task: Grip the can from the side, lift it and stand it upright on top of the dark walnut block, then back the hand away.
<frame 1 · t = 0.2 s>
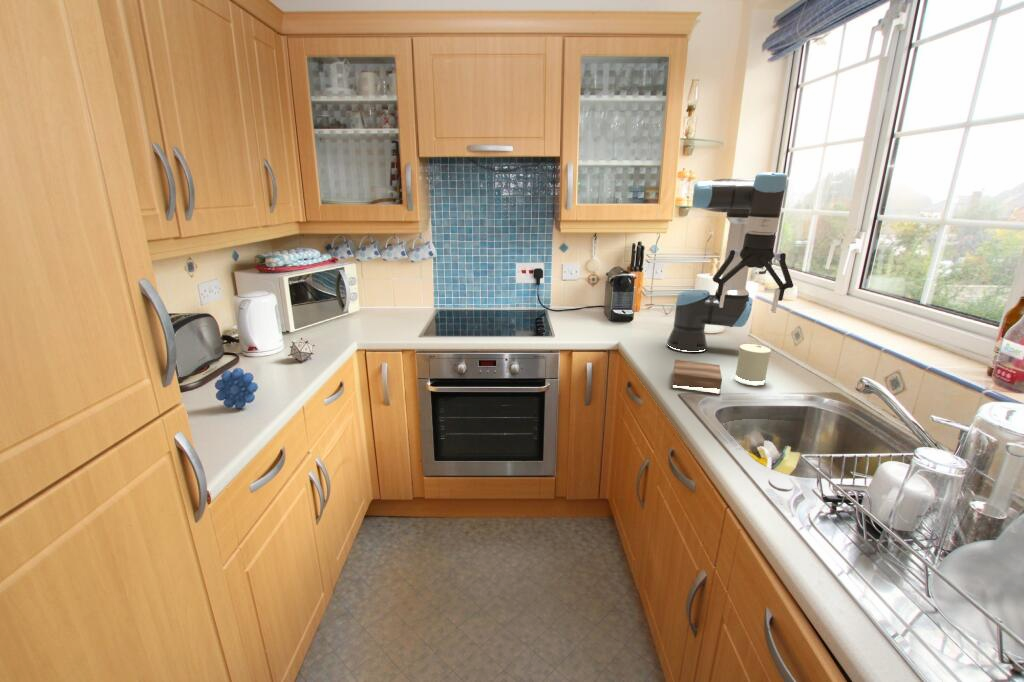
hand: (746, 309, 134), 28 cm above the worktop, tool pointing down, fingers open, 13 cm apart
walnut block: (695, 383, 153), on the worktop
blue knobbed ball: (241, 407, 131), on the worktop
grey spiked polyhedron: (303, 361, 169), on the worktop
can: (749, 381, 155), on the worktop
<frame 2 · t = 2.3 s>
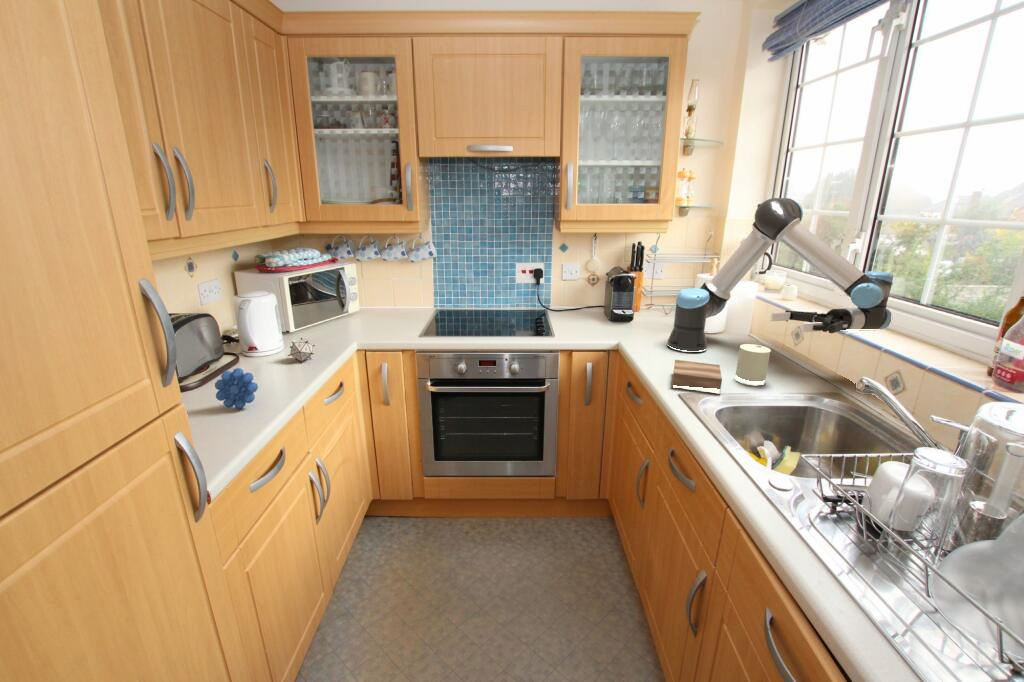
hand: (786, 322, 151), 20 cm above the worktop, tool horizontal, fingers open, 13 cm apart
nothing on the worktop moved.
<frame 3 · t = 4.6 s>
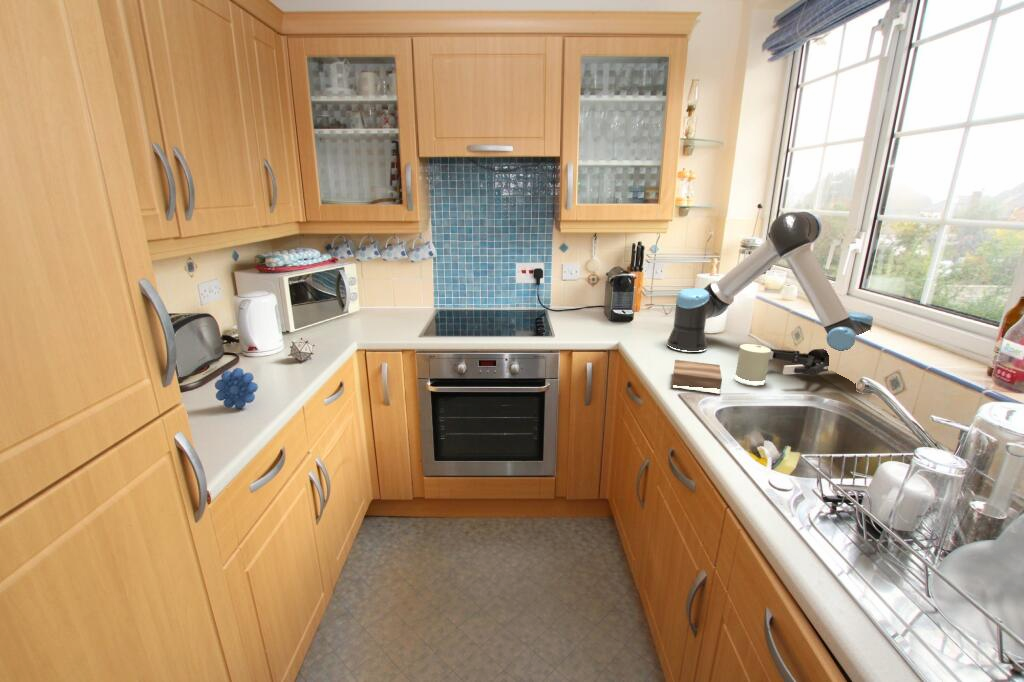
hand: (768, 362, 154), 6 cm above the worktop, tool horizontal, fingers open, 13 cm apart
nothing on the worktop moved.
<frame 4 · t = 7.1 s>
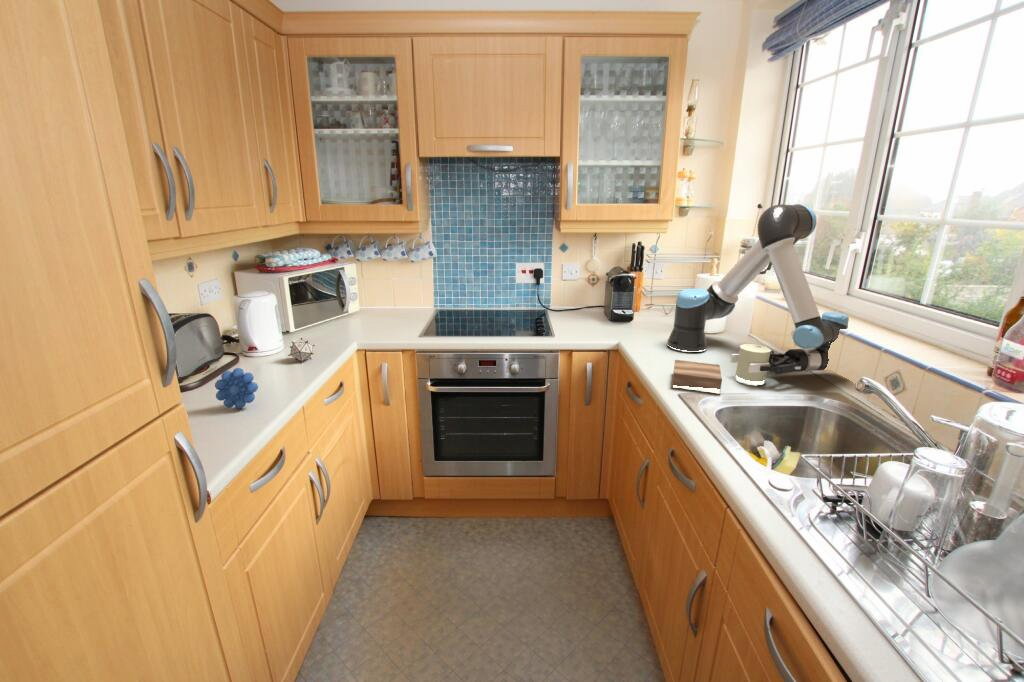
hand: (740, 363, 153), 7 cm above the worktop, tool horizontal, fingers closed on can, 9 cm apart
can: (749, 381, 155), on the worktop, touching gripper
everything else where it was.
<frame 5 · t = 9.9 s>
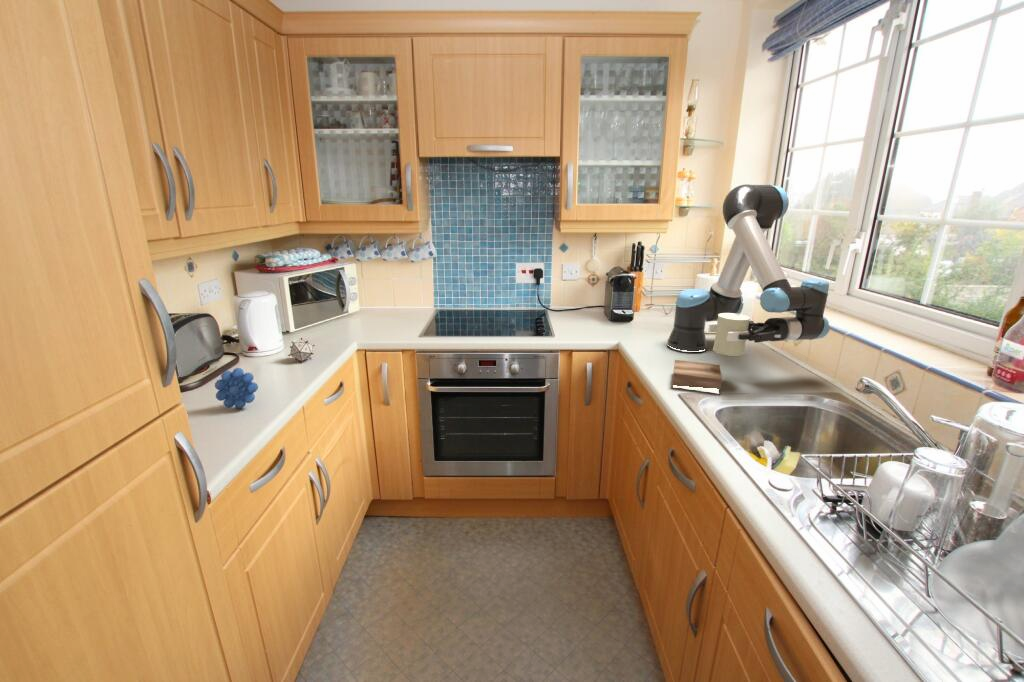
hand: (718, 332, 146), 18 cm above the worktop, tool horizontal, fingers closed on can, 9 cm apart
can: (728, 352, 149), point 11 cm above the worktop, touching gripper
everything else where it was.
when the fingers open (13 cm above the worktop, at t = 12.6 s): can drops 1 cm, resting on walnut block.
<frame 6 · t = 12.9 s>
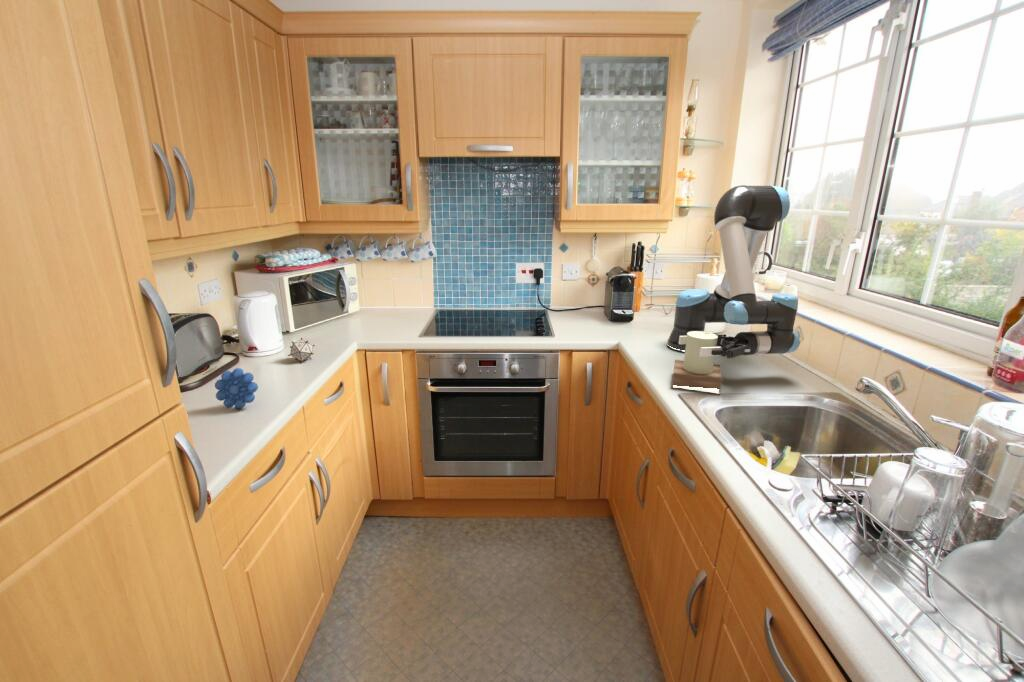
hand: (689, 345, 148), 13 cm above the worktop, tool horizontal, fingers open, 12 cm apart
can: (697, 369, 151), point 5 cm above the worktop, touching walnut block
everything else where it was.
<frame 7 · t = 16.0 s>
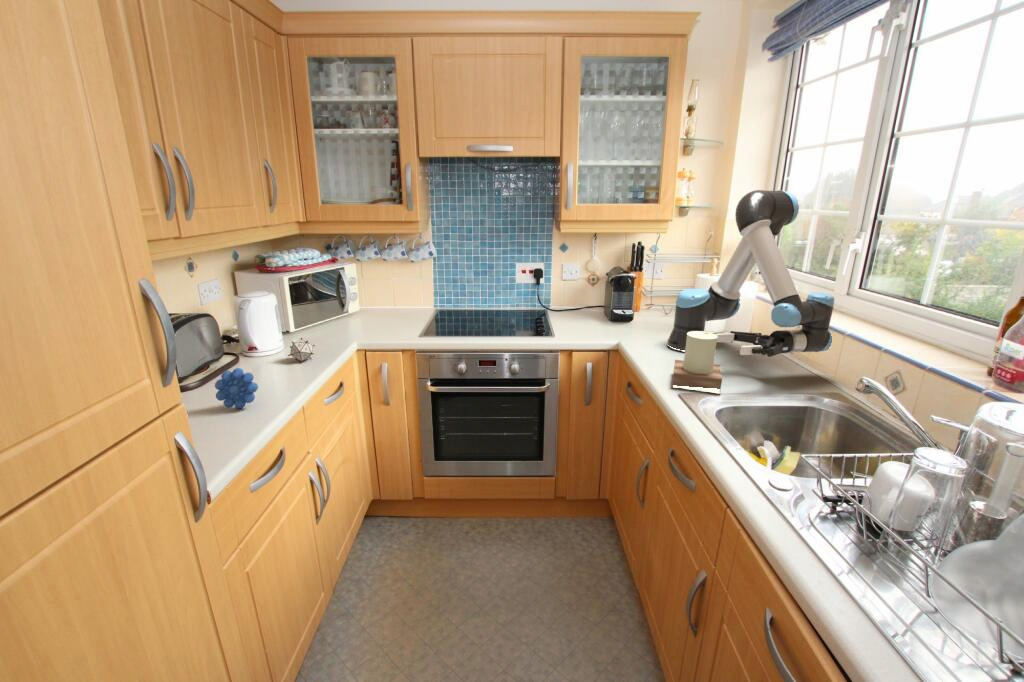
hand: (727, 344, 151), 13 cm above the worktop, tool horizontal, fingers open, 13 cm apart
nothing on the worktop moved.
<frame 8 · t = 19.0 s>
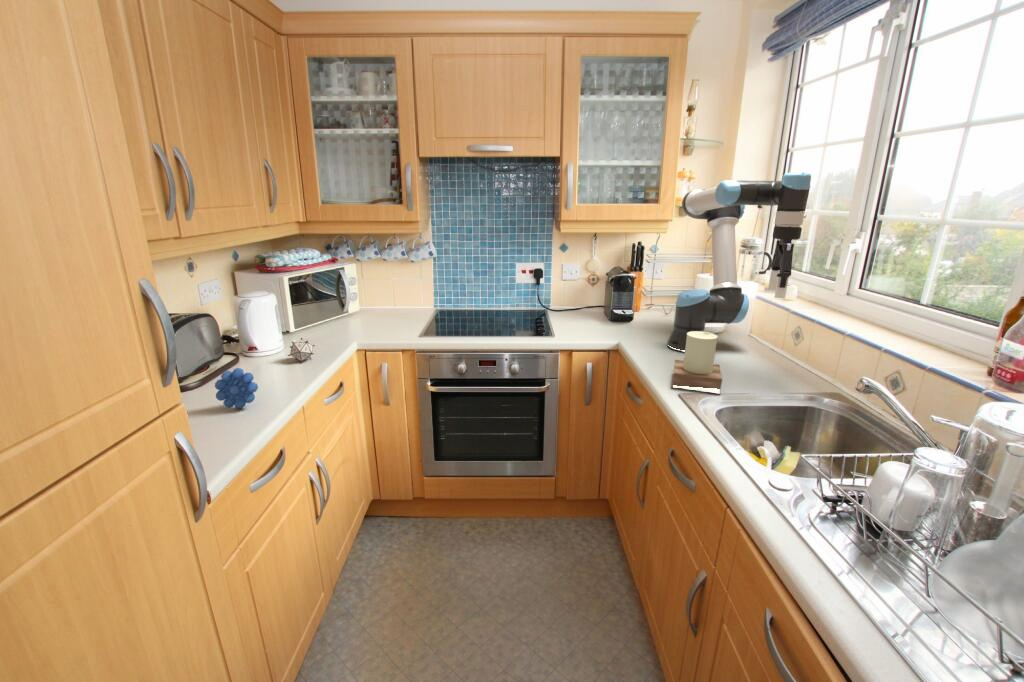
hand: (775, 294, 150), 29 cm above the worktop, tool pointing down, fingers open, 13 cm apart
nothing on the worktop moved.
at the end: can inside the target area on the walnut block (0.1 cm from its centre), point 4.8 cm above the walnut block's base; can tilted 0°; the gripper is holding nothing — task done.
